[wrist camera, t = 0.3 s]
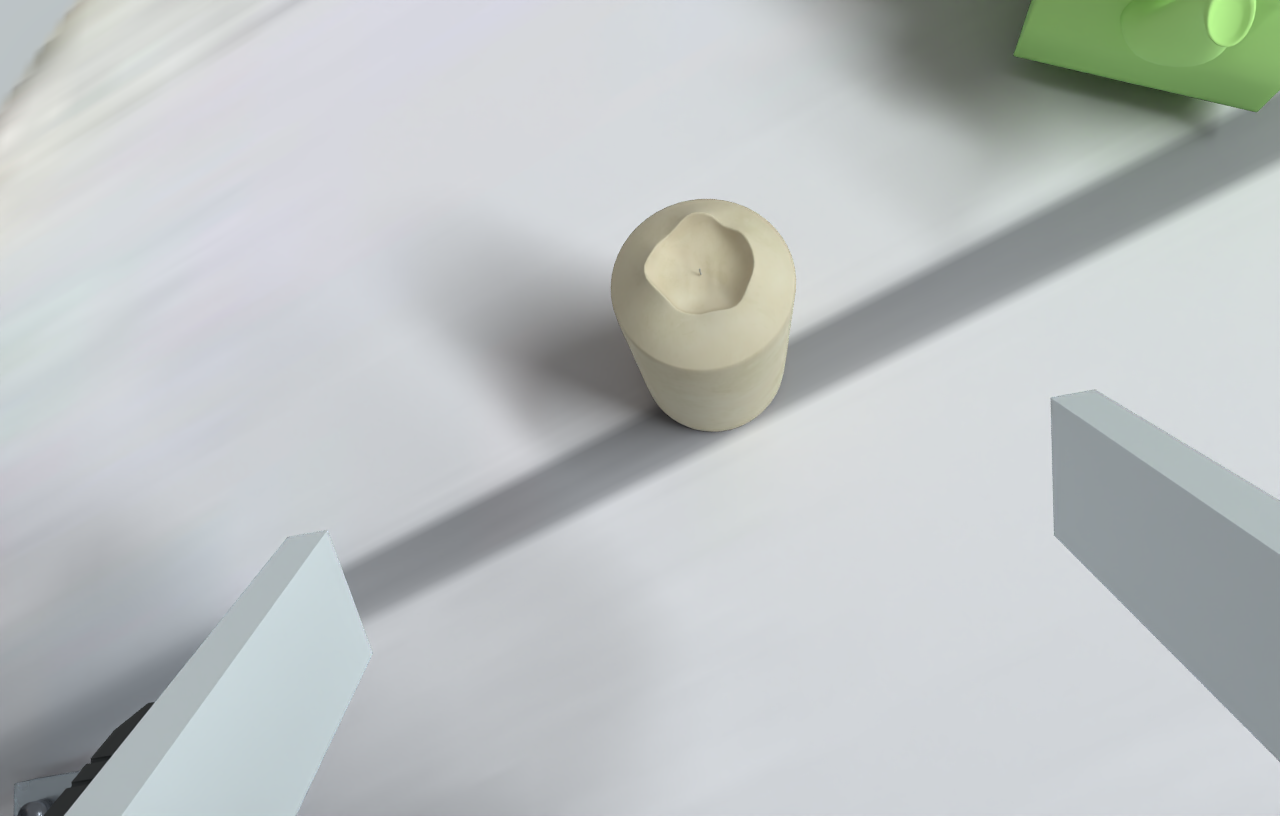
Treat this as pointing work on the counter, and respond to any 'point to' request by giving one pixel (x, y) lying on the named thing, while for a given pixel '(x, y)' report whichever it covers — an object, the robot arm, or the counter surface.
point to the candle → (706, 310)
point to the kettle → (1164, 44)
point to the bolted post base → (40, 793)
